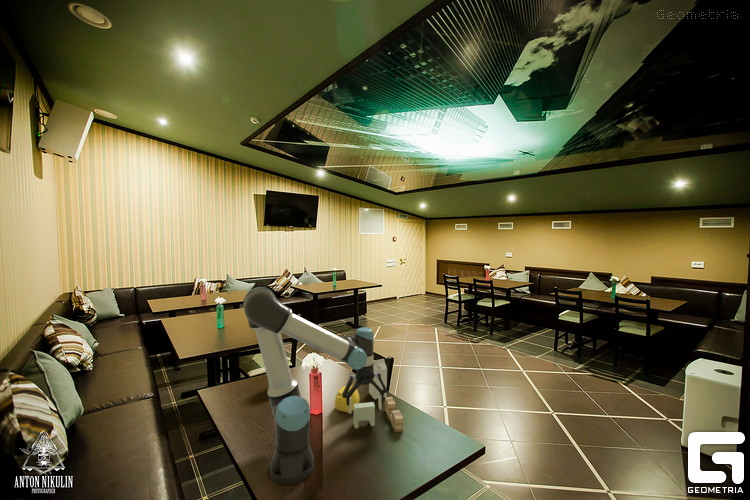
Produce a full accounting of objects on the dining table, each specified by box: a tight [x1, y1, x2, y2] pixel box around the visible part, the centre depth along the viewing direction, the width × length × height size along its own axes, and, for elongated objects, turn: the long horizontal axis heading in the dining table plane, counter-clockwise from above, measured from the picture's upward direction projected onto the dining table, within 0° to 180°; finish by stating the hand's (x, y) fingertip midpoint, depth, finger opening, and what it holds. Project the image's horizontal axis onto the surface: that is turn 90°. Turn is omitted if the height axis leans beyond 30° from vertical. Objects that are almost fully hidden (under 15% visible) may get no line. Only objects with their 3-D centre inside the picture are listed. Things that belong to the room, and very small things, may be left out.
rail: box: [384, 396, 404, 433], centre depth 138 cm, size 18×4×6 cm, turn 13°
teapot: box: [334, 384, 360, 415], centre depth 146 cm, size 18×11×11 cm, turn 156°
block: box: [353, 401, 376, 429], centre depth 134 cm, size 4×9×9 cm, turn 103°
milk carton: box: [368, 358, 388, 400], centre depth 160 cm, size 7×7×19 cm
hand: (365, 410), depth 134 cm, fingers open, 13 cm apart
